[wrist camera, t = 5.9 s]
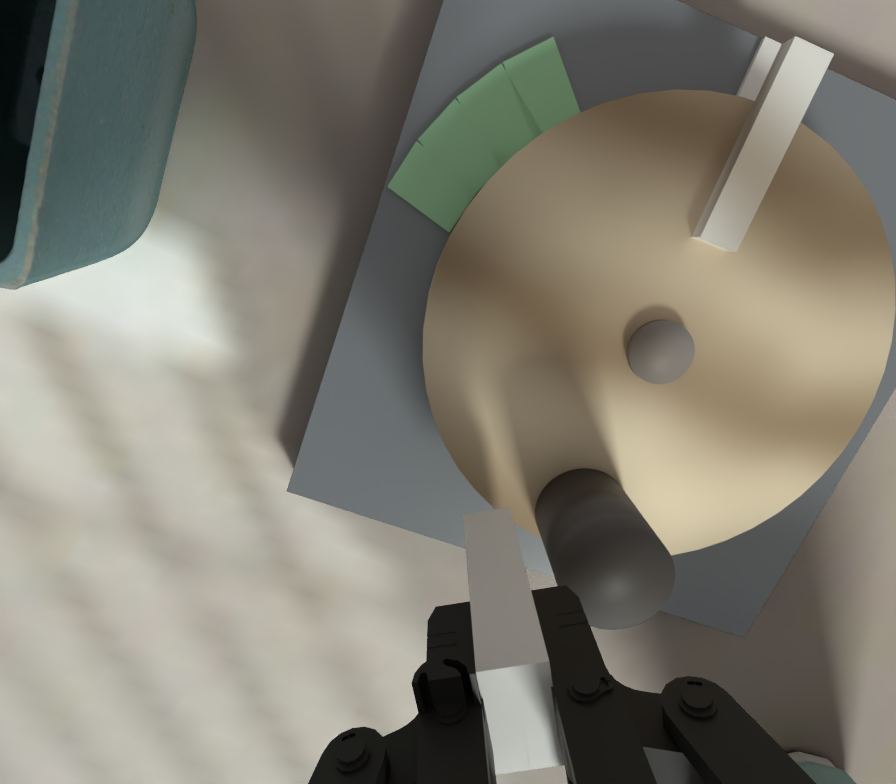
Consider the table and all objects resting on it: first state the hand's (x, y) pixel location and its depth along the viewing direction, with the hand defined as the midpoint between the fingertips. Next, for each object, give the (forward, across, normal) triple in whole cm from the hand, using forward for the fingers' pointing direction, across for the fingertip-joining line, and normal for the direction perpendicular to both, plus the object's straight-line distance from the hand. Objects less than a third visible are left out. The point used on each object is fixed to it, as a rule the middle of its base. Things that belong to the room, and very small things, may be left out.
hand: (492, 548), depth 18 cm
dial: (+4, +7, +6) cm, 9 cm away
